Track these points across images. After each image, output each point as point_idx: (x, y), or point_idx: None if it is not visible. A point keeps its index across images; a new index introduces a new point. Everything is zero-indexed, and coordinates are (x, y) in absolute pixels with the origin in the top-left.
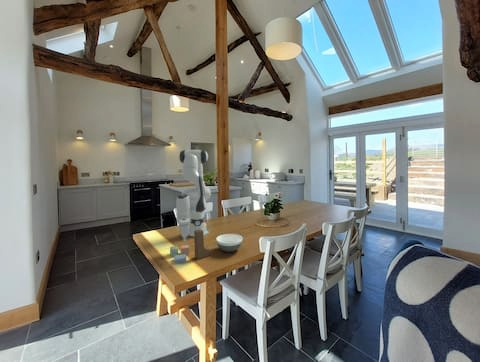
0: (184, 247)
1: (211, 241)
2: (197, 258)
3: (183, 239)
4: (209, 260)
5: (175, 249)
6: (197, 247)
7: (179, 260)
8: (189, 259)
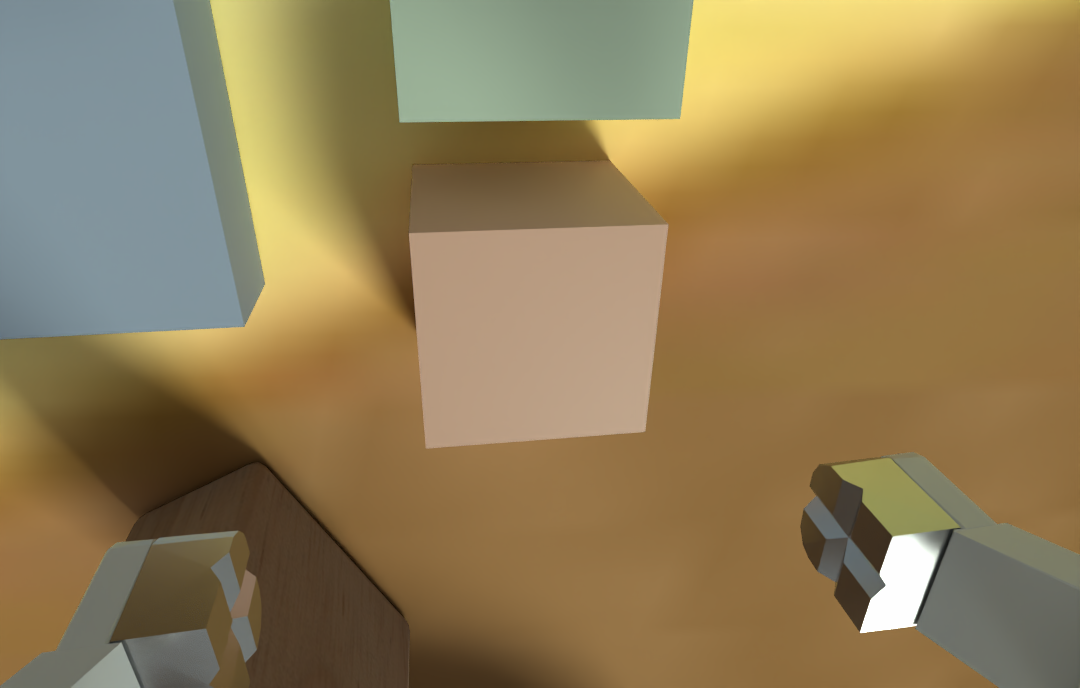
0: (469, 335)
1: (897, 662)
2: (154, 512)
3: (27, 667)
4: None
5: (394, 21)
6: None
7: None
8: (147, 357)
